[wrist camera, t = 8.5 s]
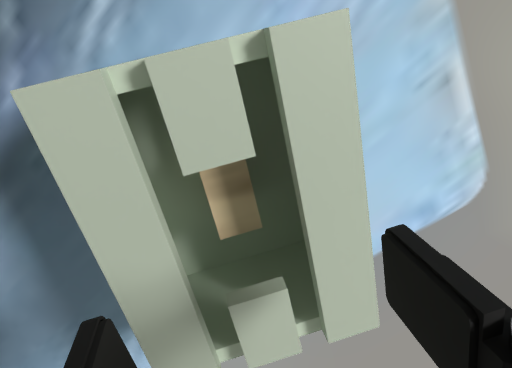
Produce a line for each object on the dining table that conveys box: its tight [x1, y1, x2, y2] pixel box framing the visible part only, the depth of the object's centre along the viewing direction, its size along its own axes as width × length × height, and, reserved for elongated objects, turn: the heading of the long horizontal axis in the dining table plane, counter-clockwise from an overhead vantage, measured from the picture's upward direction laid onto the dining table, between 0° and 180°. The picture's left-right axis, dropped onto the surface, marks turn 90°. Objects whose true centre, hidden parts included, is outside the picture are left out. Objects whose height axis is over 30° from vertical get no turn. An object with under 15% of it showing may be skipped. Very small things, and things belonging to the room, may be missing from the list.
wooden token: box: [199, 159, 263, 240], centre depth 20 cm, size 4×2×5 cm
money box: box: [10, 8, 380, 368], centre depth 19 cm, size 16×12×9 cm
